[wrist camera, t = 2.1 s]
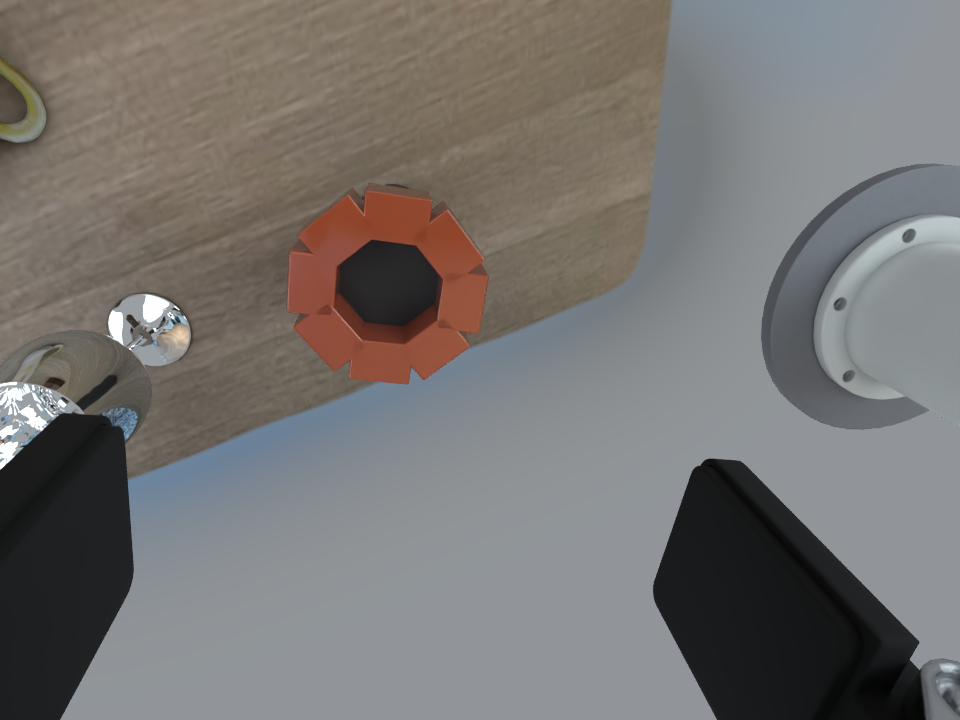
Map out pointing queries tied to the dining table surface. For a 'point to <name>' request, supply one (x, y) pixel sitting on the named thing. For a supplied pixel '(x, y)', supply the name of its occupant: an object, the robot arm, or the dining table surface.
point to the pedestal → (388, 282)
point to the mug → (35, 108)
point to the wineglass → (90, 371)
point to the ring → (380, 345)
